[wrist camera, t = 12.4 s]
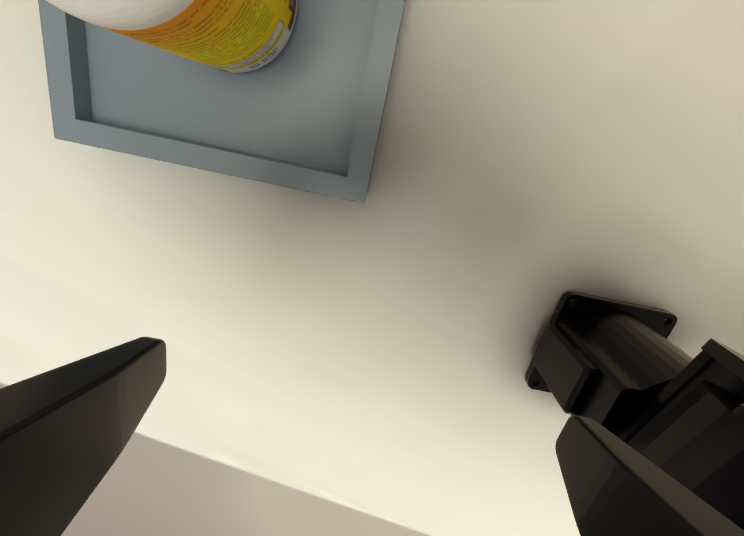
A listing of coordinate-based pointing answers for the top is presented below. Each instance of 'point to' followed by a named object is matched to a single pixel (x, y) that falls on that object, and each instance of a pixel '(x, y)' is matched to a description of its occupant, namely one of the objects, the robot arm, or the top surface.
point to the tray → (234, 98)
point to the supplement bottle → (197, 27)
